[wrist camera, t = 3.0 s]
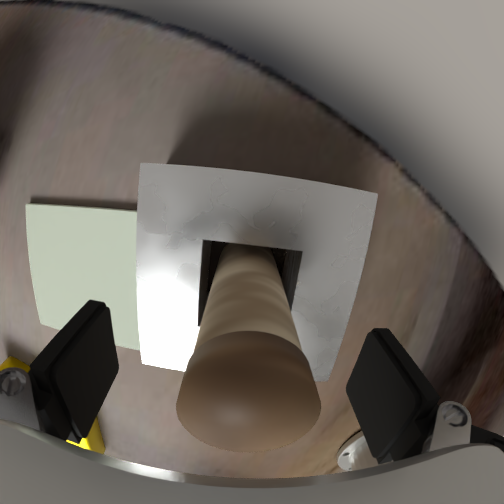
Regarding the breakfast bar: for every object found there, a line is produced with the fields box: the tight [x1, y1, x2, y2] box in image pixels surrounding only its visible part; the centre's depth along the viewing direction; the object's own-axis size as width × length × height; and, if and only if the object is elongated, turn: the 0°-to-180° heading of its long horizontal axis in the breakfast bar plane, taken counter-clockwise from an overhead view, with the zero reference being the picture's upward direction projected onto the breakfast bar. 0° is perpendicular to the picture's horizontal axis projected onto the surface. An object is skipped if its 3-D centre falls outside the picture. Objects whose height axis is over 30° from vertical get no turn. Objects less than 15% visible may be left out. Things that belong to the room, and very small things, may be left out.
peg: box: [176, 242, 321, 453], centre depth 14 cm, size 4×4×14 cm
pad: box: [26, 203, 141, 351], centre depth 20 cm, size 12×12×1 cm
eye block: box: [136, 163, 378, 381], centre depth 18 cm, size 13×13×5 cm
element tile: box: [0, 356, 105, 454], centre depth 24 cm, size 15×15×5 cm
